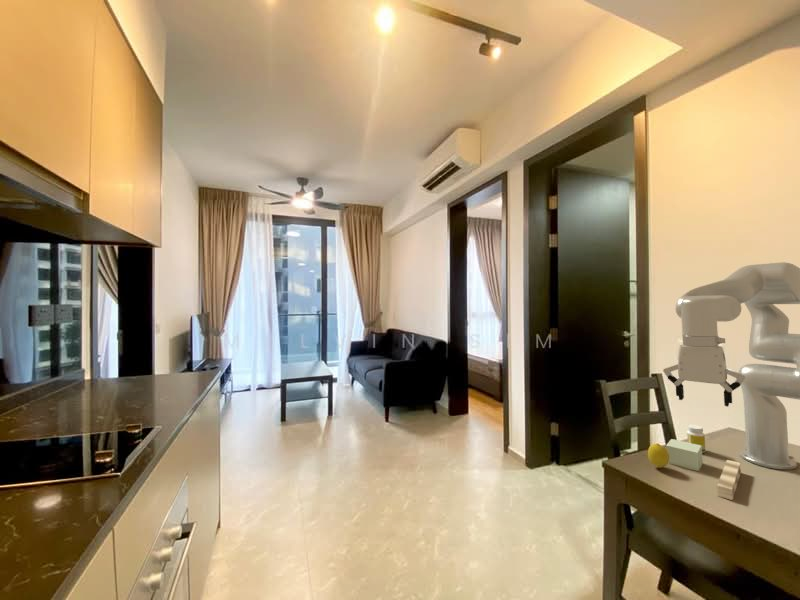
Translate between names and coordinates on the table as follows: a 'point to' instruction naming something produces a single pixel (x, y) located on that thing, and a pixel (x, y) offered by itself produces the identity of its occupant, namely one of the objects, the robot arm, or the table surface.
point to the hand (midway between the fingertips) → (703, 401)
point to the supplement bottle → (696, 436)
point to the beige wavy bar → (729, 480)
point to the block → (684, 454)
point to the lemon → (658, 455)
